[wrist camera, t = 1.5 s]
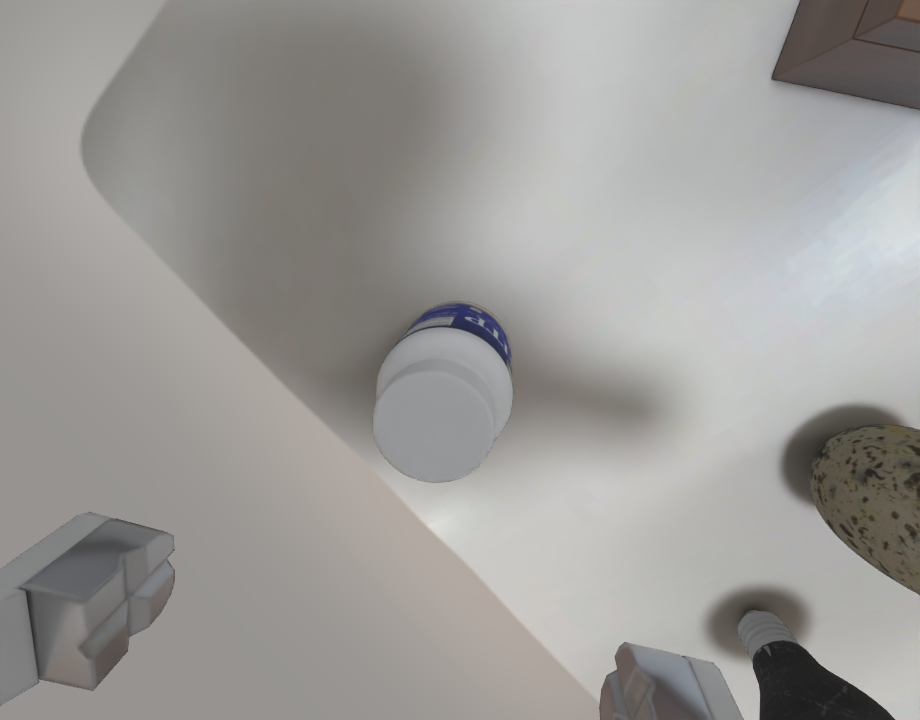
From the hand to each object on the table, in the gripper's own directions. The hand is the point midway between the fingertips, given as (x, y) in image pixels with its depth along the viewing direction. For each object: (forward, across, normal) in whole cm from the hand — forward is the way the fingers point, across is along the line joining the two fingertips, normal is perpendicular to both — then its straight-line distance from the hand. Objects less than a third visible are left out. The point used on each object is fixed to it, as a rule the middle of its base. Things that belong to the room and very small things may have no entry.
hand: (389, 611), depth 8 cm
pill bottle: (+16, 0, 0) cm, 16 cm away
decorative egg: (+16, -20, +1) cm, 25 cm away
